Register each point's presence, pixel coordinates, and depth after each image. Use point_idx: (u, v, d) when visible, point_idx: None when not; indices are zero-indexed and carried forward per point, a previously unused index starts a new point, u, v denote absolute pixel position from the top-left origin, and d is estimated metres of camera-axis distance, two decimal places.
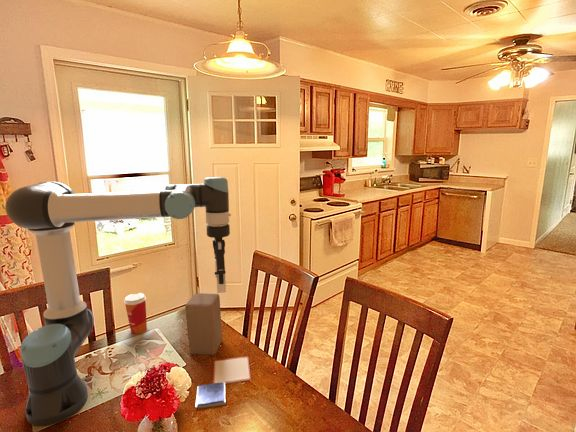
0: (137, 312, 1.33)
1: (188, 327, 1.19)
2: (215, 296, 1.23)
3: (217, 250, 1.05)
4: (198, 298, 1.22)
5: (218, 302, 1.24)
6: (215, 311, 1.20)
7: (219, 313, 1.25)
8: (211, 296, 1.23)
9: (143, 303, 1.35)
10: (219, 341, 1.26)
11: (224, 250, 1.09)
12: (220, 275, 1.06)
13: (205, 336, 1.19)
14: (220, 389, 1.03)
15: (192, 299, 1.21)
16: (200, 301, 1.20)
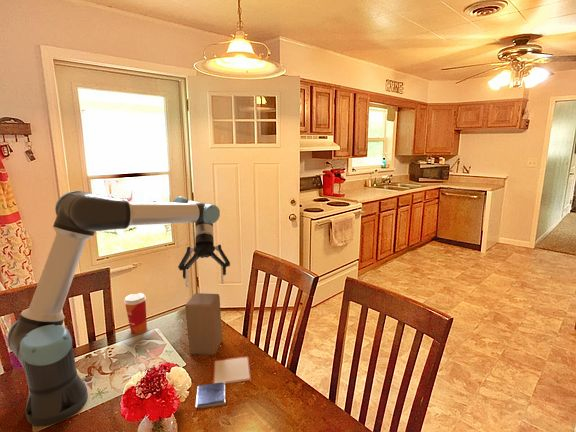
0: (137, 312, 1.33)
1: (188, 327, 1.19)
2: (215, 296, 1.23)
3: None
4: (198, 298, 1.22)
5: (218, 302, 1.24)
6: (215, 311, 1.20)
7: (219, 313, 1.25)
8: (211, 296, 1.23)
9: (143, 303, 1.35)
10: (219, 341, 1.26)
11: None
12: (225, 267, 1.36)
13: (205, 336, 1.19)
14: (220, 389, 1.03)
15: (192, 299, 1.21)
16: (200, 301, 1.20)
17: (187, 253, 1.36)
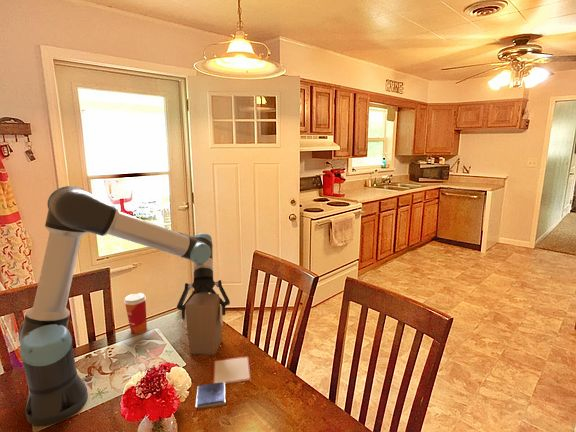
0: (137, 312, 1.33)
1: (188, 327, 1.19)
2: (215, 296, 1.23)
3: (221, 285, 1.29)
4: (198, 298, 1.22)
5: (218, 302, 1.24)
6: (215, 311, 1.20)
7: (219, 313, 1.25)
8: (211, 296, 1.23)
9: (143, 303, 1.35)
10: (219, 341, 1.26)
11: None
12: None
13: (205, 336, 1.19)
14: (220, 389, 1.03)
15: (192, 299, 1.21)
16: (200, 301, 1.20)
17: (185, 290, 1.26)
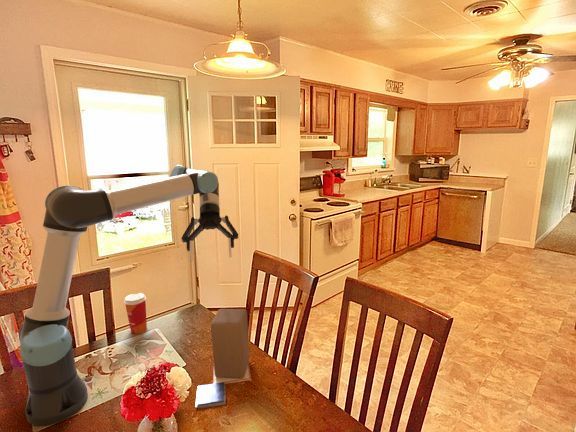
0: (137, 312, 1.33)
1: (214, 348, 1.06)
2: (243, 312, 1.11)
3: None
4: (224, 315, 1.09)
5: (246, 319, 1.12)
6: (243, 329, 1.08)
7: (247, 331, 1.13)
8: (238, 313, 1.10)
9: (143, 303, 1.35)
10: (247, 362, 1.13)
11: None
12: (233, 239, 1.23)
13: (233, 358, 1.07)
14: (220, 389, 1.03)
15: (217, 316, 1.08)
16: (227, 318, 1.07)
17: (191, 224, 1.23)
